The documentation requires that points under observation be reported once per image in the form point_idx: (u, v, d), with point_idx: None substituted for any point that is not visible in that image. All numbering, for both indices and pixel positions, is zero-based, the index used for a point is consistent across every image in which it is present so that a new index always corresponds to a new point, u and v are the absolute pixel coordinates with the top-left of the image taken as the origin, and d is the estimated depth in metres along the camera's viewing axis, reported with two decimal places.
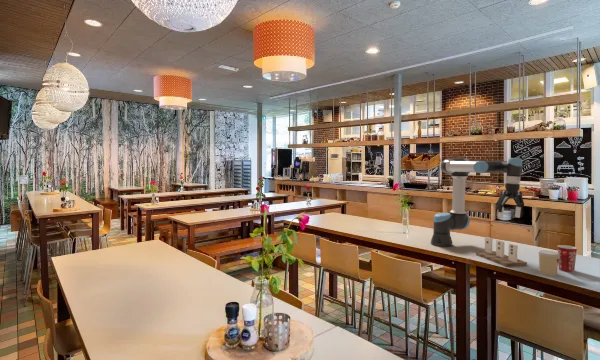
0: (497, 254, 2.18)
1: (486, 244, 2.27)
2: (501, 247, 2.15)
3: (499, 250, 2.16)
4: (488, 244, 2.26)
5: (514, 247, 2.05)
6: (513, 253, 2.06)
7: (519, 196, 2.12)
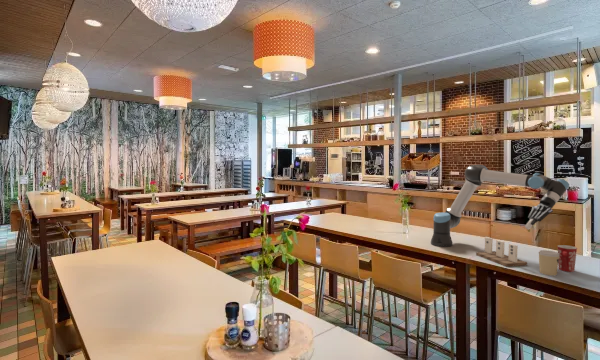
0: (497, 254, 2.18)
1: (486, 244, 2.27)
2: (501, 247, 2.15)
3: (499, 250, 2.16)
4: (488, 244, 2.26)
5: (514, 247, 2.05)
6: (513, 253, 2.06)
7: (535, 210, 2.17)
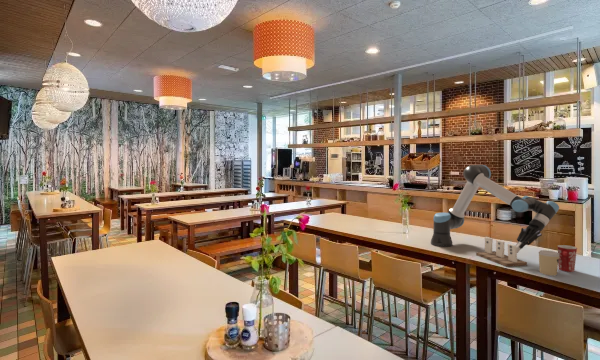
0: (497, 254, 2.18)
1: (486, 244, 2.27)
2: (501, 247, 2.15)
3: (499, 250, 2.16)
4: (488, 244, 2.26)
5: (513, 247, 2.05)
6: (512, 253, 2.06)
7: (524, 233, 2.13)
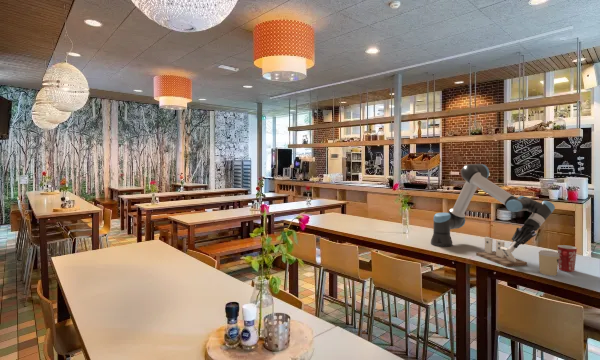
0: (497, 254, 2.18)
1: (486, 244, 2.27)
2: None
3: (499, 250, 2.16)
4: (488, 244, 2.26)
5: (506, 251, 2.04)
6: (508, 255, 2.05)
7: (519, 232, 2.12)
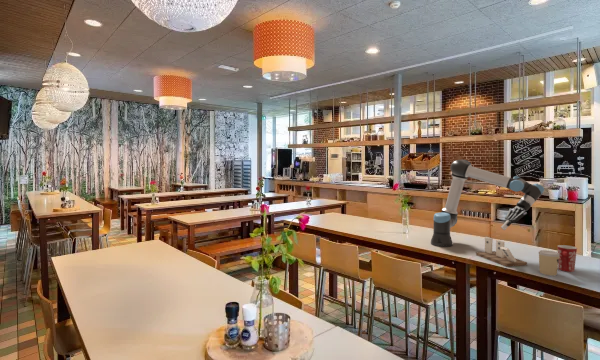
0: (497, 254, 2.18)
1: (486, 244, 2.27)
2: None
3: (499, 250, 2.16)
4: (488, 244, 2.26)
5: (506, 251, 2.04)
6: (508, 255, 2.05)
7: None
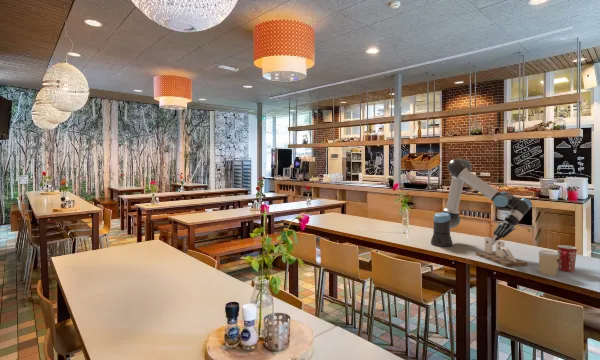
0: (497, 254, 2.18)
1: (486, 244, 2.27)
2: None
3: (499, 250, 2.16)
4: (488, 244, 2.26)
5: (506, 251, 2.04)
6: (508, 255, 2.05)
7: (500, 227, 2.32)
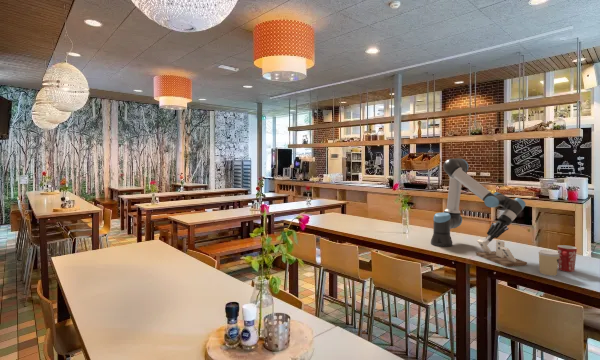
0: (497, 254, 2.18)
1: (482, 246, 2.27)
2: None
3: (499, 250, 2.16)
4: (483, 246, 2.25)
5: (506, 251, 2.04)
6: (508, 255, 2.05)
7: None
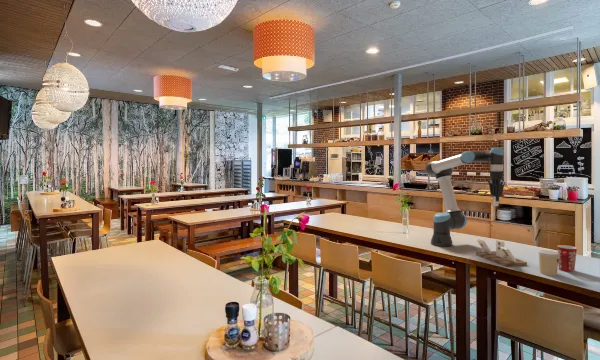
0: (497, 254, 2.18)
1: (482, 246, 2.27)
2: None
3: (499, 250, 2.16)
4: (483, 246, 2.25)
5: (506, 251, 2.04)
6: (508, 255, 2.05)
7: None
